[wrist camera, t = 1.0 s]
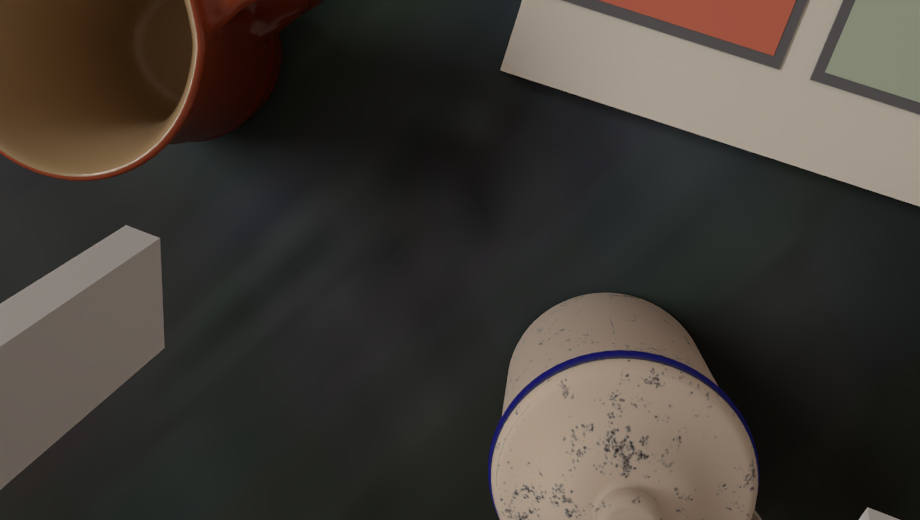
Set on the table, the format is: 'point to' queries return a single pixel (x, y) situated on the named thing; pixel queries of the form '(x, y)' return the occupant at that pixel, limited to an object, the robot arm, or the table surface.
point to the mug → (131, 77)
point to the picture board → (747, 75)
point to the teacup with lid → (618, 422)
